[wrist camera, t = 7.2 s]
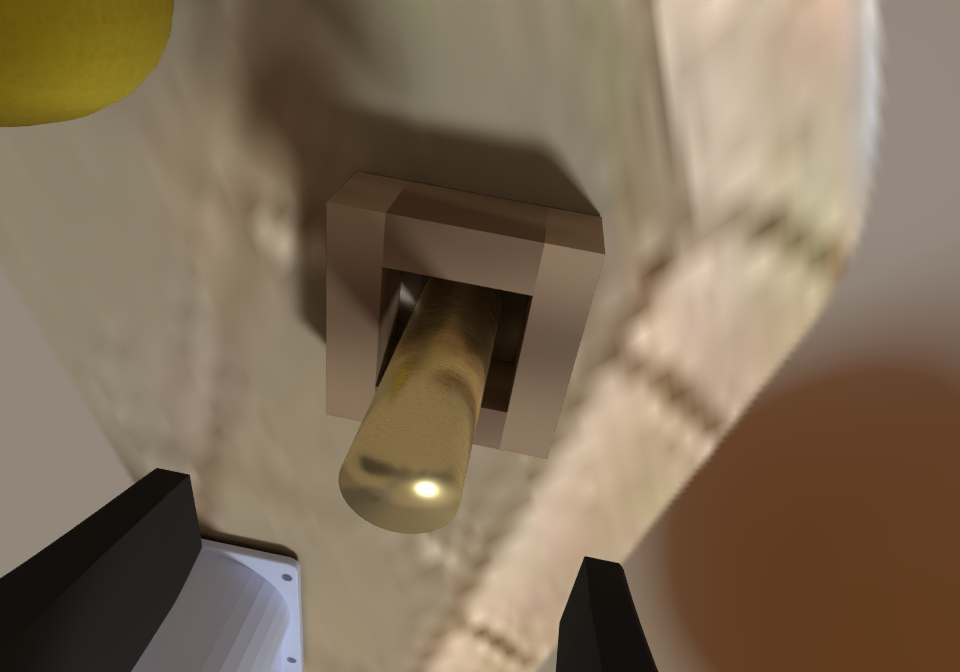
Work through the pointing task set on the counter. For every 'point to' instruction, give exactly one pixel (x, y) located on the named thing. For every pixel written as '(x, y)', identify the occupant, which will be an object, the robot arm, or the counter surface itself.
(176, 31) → the counter surface
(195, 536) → the robot arm
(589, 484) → the counter surface
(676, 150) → the counter surface
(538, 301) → the socket block
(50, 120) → the lemon
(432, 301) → the brass pin
